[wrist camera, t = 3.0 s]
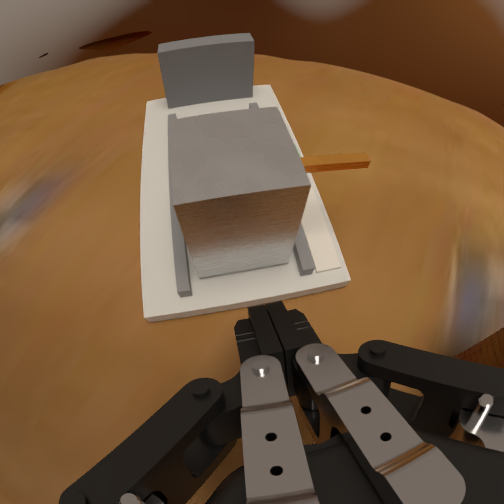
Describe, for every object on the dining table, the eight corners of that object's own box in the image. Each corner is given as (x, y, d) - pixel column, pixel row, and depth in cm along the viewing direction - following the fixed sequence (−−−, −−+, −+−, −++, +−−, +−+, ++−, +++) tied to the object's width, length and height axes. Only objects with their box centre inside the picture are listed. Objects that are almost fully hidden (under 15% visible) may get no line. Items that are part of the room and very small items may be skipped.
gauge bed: (149, 322, 19) (97, 275, 12) (149, 109, 30) (134, 49, 23) (345, 286, 21) (392, 226, 14) (269, 92, 31) (273, 32, 24)
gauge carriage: (198, 278, 19) (173, 205, 12) (185, 158, 24) (170, 78, 17) (355, 250, 20) (401, 176, 13) (309, 142, 25) (325, 67, 18)
